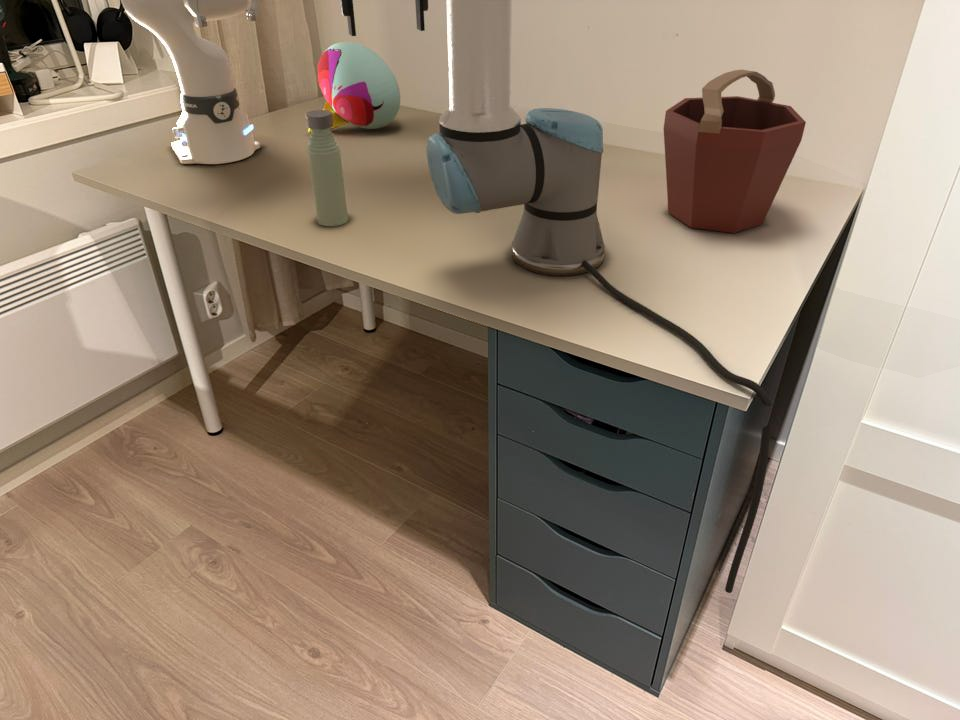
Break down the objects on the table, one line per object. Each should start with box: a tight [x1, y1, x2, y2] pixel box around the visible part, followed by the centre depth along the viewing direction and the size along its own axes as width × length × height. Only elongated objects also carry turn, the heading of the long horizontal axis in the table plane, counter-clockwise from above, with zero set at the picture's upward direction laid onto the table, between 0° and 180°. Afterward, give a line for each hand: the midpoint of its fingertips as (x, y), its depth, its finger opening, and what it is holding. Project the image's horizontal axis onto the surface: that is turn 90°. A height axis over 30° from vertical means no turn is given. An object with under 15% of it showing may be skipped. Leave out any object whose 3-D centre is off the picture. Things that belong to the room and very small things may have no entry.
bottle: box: [306, 128, 349, 227], centre depth 126 cm, size 6×6×19 cm
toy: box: [307, 41, 401, 134], centre depth 176 cm, size 24×24×20 cm
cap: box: [305, 109, 333, 129], centre depth 121 cm, size 4×4×2 cm
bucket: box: [663, 69, 807, 234], centre depth 125 cm, size 24×22×25 cm
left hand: (227, 23), depth 124 cm, fingers open, 8 cm apart
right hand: (387, 32), depth 136 cm, fingers open, 13 cm apart
